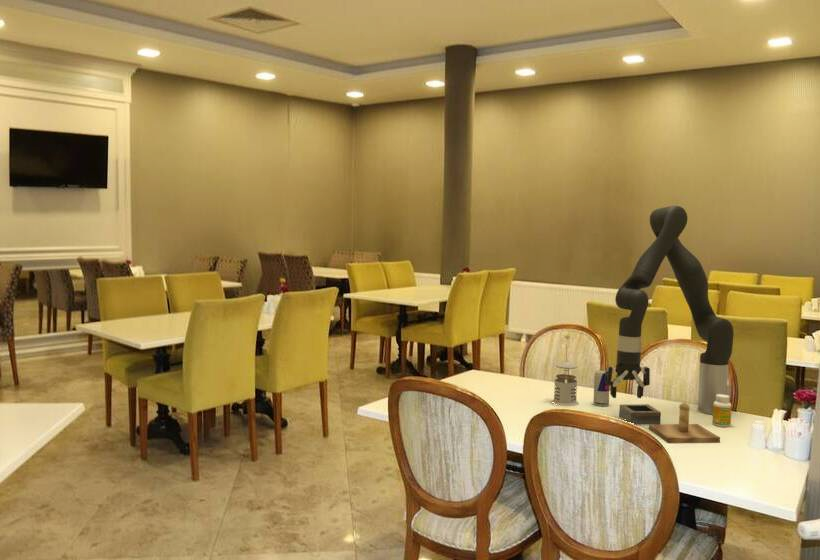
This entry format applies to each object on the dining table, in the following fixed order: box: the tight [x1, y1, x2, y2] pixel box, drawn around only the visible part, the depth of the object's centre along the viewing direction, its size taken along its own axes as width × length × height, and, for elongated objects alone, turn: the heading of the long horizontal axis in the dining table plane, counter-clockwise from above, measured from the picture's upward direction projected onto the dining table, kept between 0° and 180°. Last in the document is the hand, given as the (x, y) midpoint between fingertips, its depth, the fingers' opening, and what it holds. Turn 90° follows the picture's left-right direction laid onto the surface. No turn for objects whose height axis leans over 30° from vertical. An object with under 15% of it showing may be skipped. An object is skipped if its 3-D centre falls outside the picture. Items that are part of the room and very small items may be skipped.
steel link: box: [618, 403, 662, 426], centre depth 233 cm, size 10×10×4 cm
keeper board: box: [648, 402, 721, 444], centre depth 216 cm, size 16×14×10 cm
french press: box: [551, 334, 580, 407], centre depth 255 cm, size 10×12×25 cm
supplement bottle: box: [711, 394, 732, 428], centre depth 228 cm, size 5×5×10 cm
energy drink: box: [593, 370, 611, 407], centre depth 252 cm, size 5×5×12 cm
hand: (626, 397), depth 232 cm, fingers open, 8 cm apart
